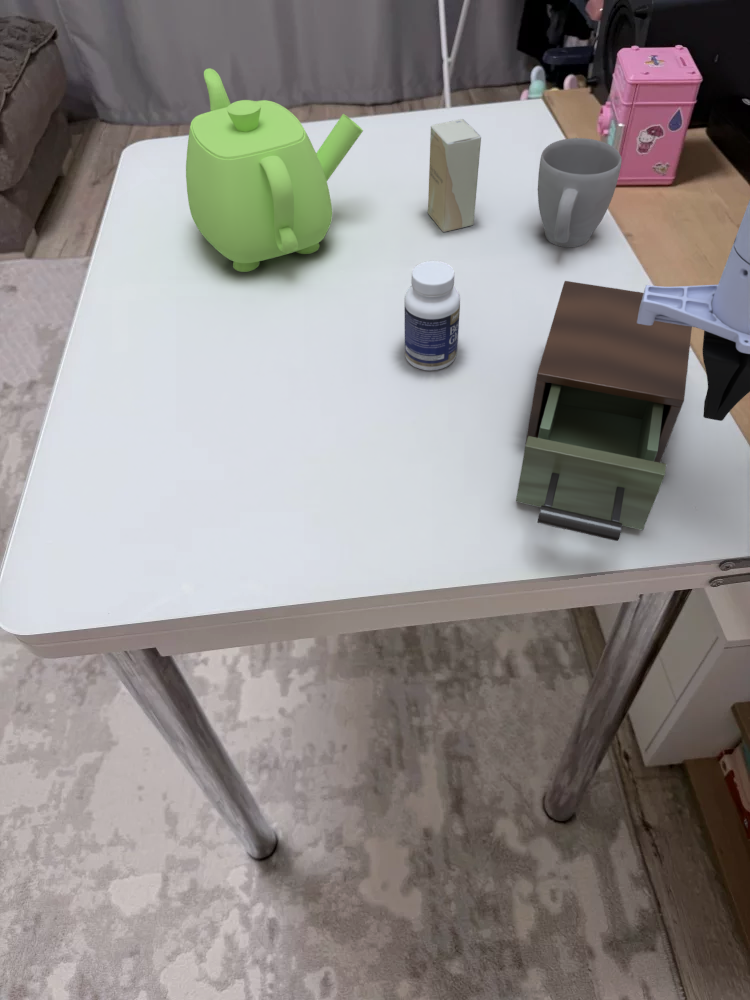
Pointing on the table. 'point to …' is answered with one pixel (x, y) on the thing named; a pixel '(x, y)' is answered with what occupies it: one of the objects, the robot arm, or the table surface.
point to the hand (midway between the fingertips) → (713, 410)
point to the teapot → (260, 178)
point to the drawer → (593, 462)
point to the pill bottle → (431, 316)
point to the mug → (576, 188)
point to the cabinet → (612, 353)
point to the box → (453, 174)
